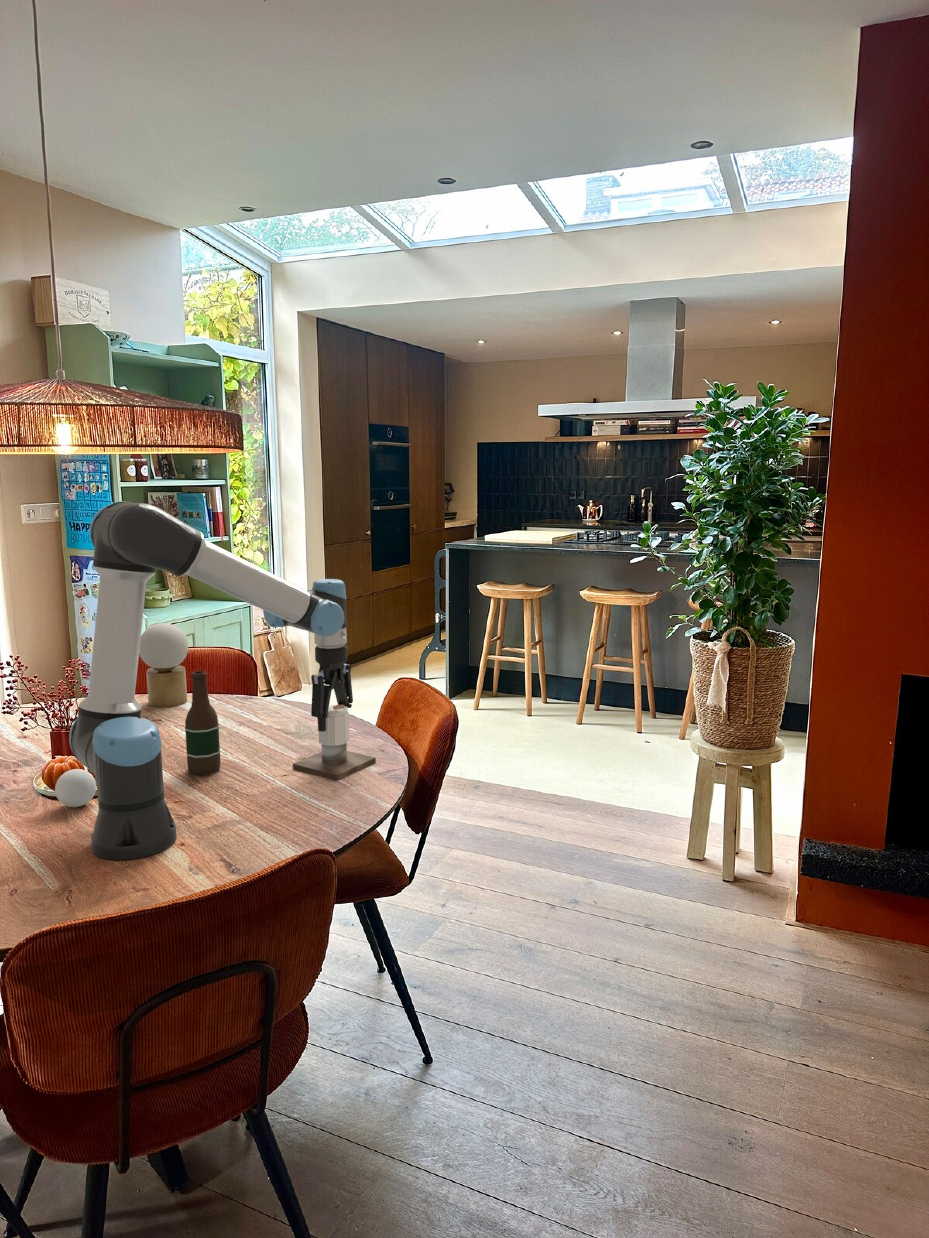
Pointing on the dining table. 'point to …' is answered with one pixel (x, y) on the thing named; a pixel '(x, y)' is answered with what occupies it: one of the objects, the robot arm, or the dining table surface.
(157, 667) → the lamp
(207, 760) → the beer bottle
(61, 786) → the ball
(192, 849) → the dining table surface
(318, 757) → the post block
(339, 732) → the canister
